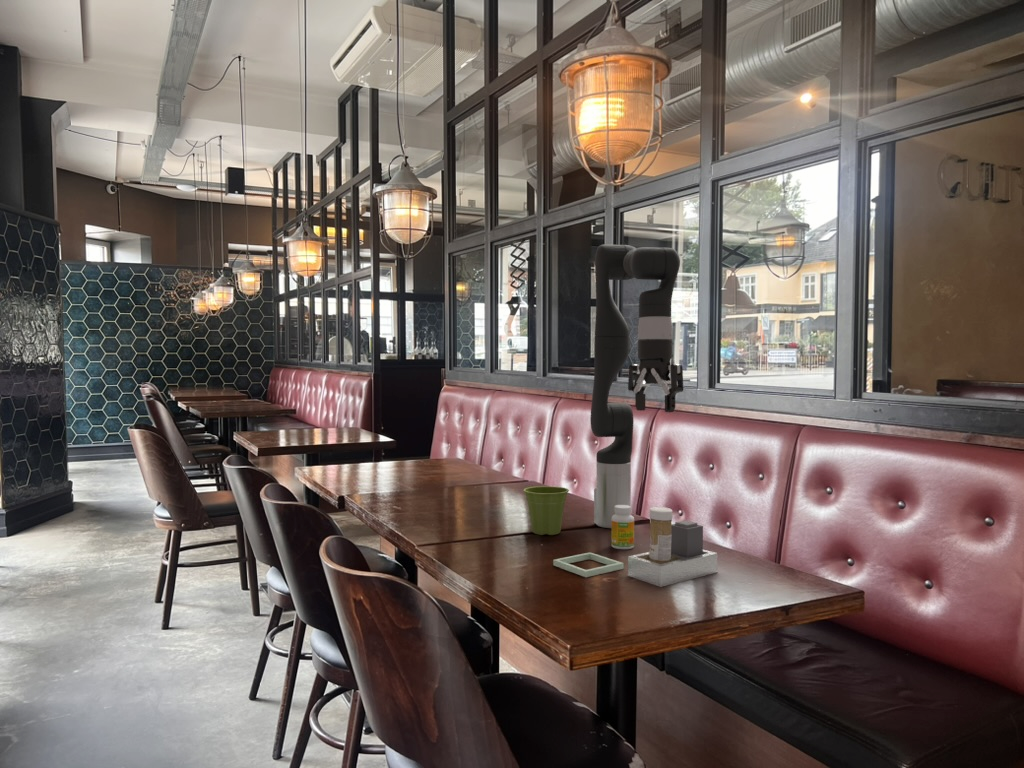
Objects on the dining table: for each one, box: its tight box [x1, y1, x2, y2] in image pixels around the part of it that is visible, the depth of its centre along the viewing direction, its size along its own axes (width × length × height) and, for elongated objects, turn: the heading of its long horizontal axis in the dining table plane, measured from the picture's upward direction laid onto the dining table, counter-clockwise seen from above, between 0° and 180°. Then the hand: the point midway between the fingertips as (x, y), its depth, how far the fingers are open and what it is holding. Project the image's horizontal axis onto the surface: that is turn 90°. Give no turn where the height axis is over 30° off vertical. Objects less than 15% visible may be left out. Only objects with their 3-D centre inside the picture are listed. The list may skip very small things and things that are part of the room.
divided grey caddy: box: [627, 549, 718, 588], centre depth 144 cm, size 9×17×4 cm, turn 125°
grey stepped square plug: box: [671, 519, 704, 558], centre depth 147 cm, size 5×5×10 cm
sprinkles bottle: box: [648, 506, 674, 564], centre depth 142 cm, size 5×5×14 cm
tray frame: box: [552, 552, 624, 578], centre depth 150 cm, size 11×11×1 cm
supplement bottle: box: [610, 505, 635, 550], centre depth 166 cm, size 5×5×10 cm
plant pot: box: [523, 485, 570, 536], centre depth 181 cm, size 12×12×11 cm
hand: (654, 411), depth 155 cm, fingers open, 8 cm apart
